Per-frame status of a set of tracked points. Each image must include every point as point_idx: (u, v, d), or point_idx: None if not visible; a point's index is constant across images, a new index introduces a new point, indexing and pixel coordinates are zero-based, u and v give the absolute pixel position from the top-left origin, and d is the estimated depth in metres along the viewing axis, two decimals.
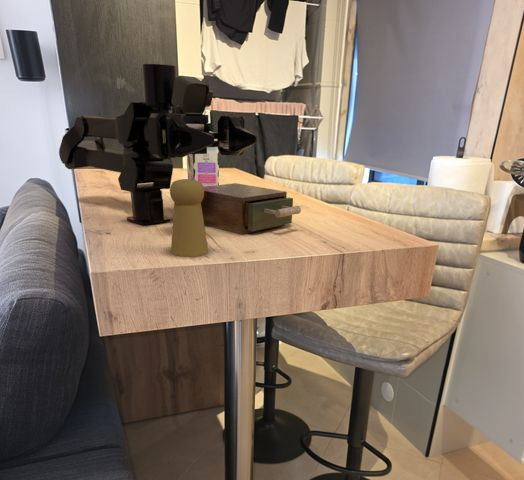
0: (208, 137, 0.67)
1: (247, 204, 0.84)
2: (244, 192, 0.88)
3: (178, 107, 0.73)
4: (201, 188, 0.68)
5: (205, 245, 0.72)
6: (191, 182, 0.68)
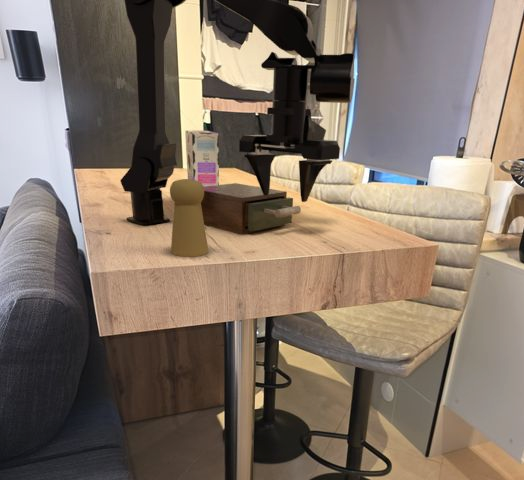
0: (306, 197, 0.80)
1: (247, 204, 0.84)
2: (244, 192, 0.88)
3: (313, 135, 0.80)
4: (201, 188, 0.68)
5: (205, 245, 0.72)
6: (191, 182, 0.68)
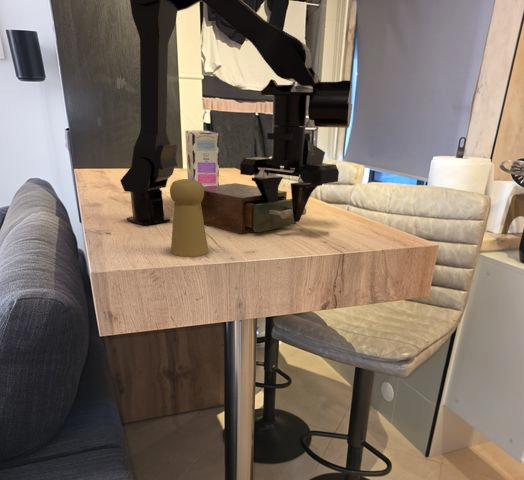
0: (299, 217, 0.83)
1: (252, 205, 0.83)
2: (244, 192, 0.88)
3: (312, 157, 0.81)
4: (201, 188, 0.68)
5: (205, 245, 0.72)
6: (191, 182, 0.68)
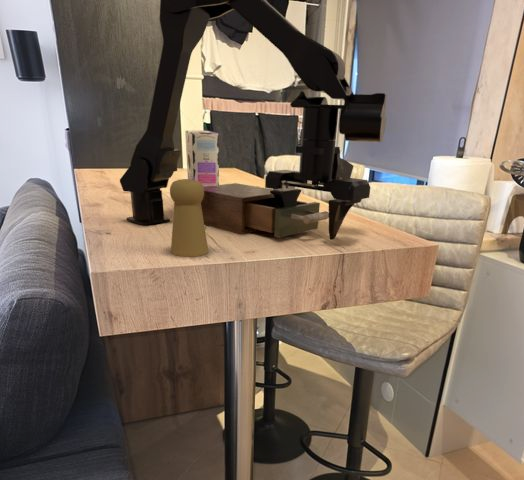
0: (334, 234, 0.79)
1: (273, 209, 0.80)
2: (244, 192, 0.88)
3: (341, 172, 0.78)
4: (201, 188, 0.68)
5: (205, 245, 0.72)
6: (191, 182, 0.68)
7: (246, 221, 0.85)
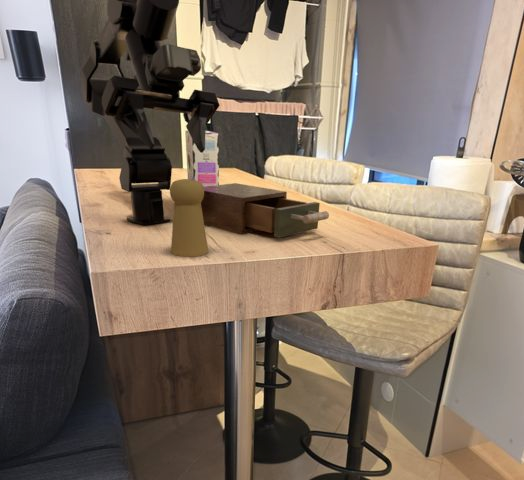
0: (149, 141, 0.70)
1: (273, 209, 0.80)
2: (244, 192, 0.88)
3: (154, 69, 0.70)
4: (201, 188, 0.68)
5: (205, 245, 0.72)
6: (191, 182, 0.68)
7: (246, 221, 0.85)
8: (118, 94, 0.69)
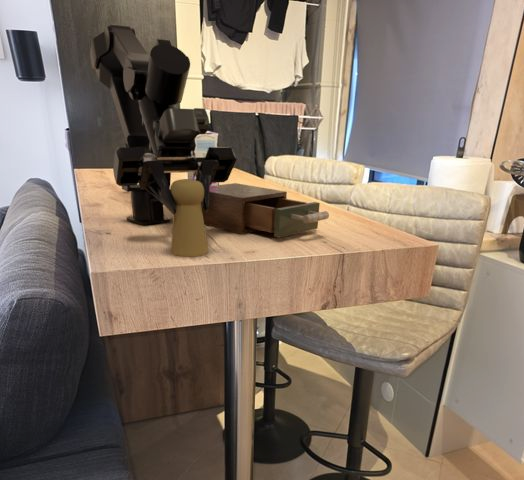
0: (171, 207, 0.68)
1: (273, 209, 0.80)
2: (244, 192, 0.88)
3: (161, 135, 0.67)
4: (201, 188, 0.68)
5: (205, 245, 0.72)
6: (191, 182, 0.68)
7: (246, 221, 0.85)
8: (139, 164, 0.68)
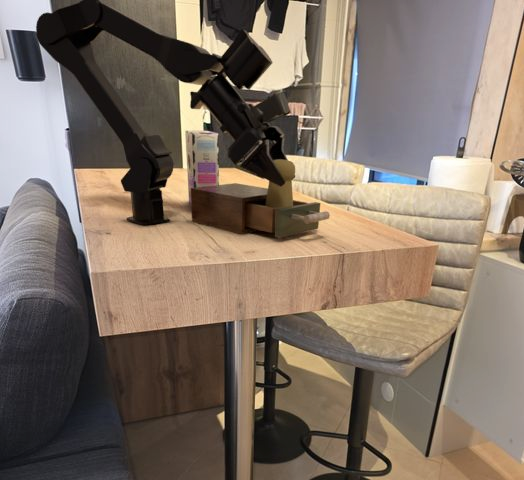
0: (280, 180, 0.78)
1: (274, 209, 0.80)
2: (244, 192, 0.88)
3: (262, 116, 0.76)
4: None
5: None
6: None
7: (246, 221, 0.85)
8: None
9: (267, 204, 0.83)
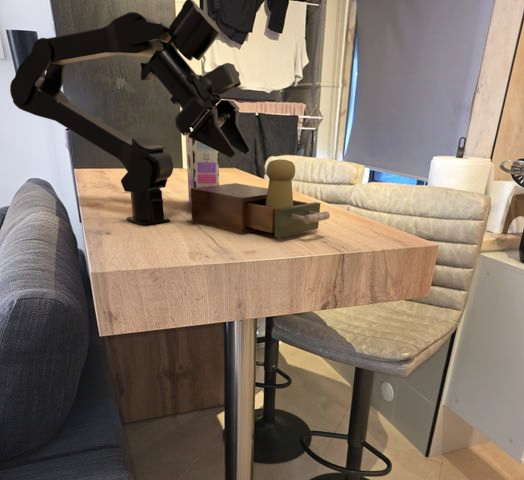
0: (230, 151, 0.78)
1: (274, 209, 0.80)
2: (244, 192, 0.88)
3: (211, 87, 0.76)
4: None
5: None
6: None
7: (246, 221, 0.85)
8: None
9: (267, 204, 0.83)
